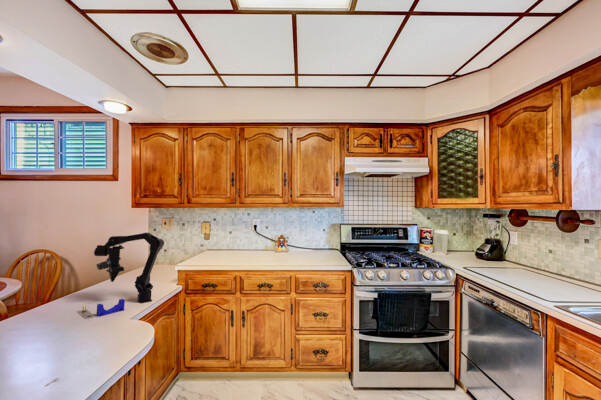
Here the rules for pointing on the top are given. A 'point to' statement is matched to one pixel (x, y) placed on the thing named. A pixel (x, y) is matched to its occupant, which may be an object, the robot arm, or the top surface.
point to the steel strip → (85, 313)
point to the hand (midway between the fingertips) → (112, 281)
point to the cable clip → (116, 308)
